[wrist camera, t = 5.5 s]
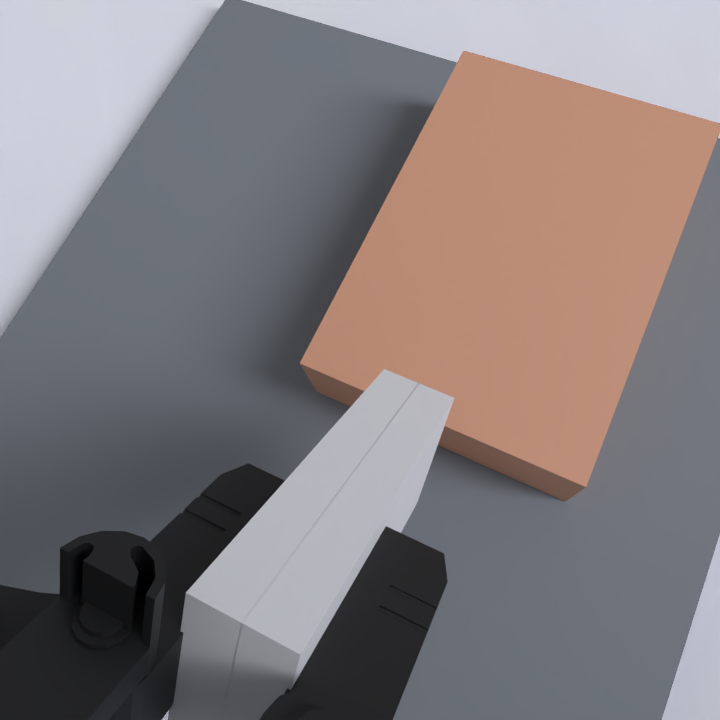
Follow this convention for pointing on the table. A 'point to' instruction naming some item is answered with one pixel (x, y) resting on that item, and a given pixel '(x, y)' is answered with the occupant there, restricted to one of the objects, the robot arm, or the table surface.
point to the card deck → (518, 265)
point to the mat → (320, 413)
